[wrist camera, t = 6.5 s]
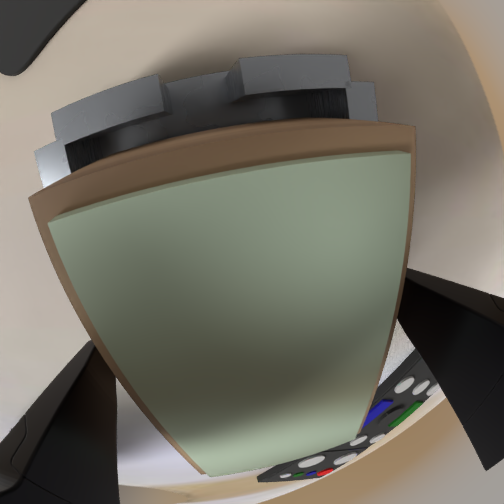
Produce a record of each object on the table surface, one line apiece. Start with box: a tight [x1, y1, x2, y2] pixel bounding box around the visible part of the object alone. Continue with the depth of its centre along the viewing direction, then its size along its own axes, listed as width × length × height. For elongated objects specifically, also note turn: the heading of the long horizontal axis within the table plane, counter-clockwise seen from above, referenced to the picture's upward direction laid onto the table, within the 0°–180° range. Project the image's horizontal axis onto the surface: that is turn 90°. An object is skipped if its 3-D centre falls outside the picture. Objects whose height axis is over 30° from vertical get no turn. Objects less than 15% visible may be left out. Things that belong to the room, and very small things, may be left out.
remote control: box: [257, 348, 440, 482], centre depth 24 cm, size 11×30×2 cm, turn 147°
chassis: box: [34, 54, 378, 188], centre depth 11 cm, size 14×10×4 cm
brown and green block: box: [28, 117, 416, 477], centre depth 8 cm, size 10×6×5 cm, turn 8°
